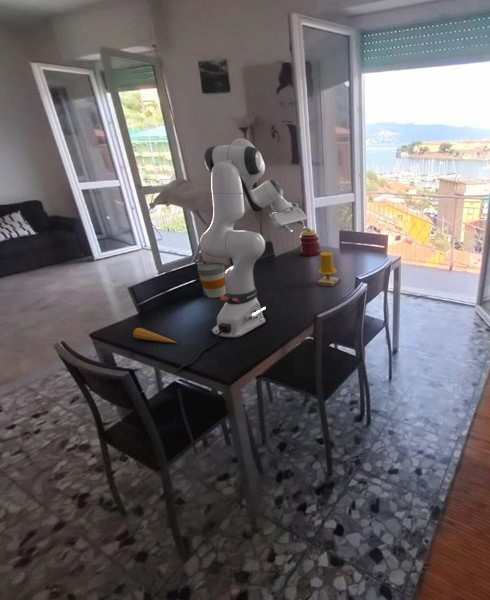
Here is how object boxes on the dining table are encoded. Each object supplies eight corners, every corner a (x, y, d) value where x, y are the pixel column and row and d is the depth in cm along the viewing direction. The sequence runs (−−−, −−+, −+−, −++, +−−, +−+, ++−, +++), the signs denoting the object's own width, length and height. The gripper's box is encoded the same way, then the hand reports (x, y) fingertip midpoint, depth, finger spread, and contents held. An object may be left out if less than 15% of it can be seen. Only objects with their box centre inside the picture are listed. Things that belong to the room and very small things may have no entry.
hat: (332, 275, 184) (331, 257, 179) (315, 273, 187) (313, 255, 183) (339, 269, 192) (339, 251, 188) (323, 267, 195) (321, 250, 191)
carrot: (134, 340, 141) (128, 333, 138) (142, 331, 144) (136, 324, 140) (177, 351, 137) (172, 344, 133) (184, 342, 140) (179, 335, 136)
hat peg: (332, 286, 187) (330, 258, 180) (317, 284, 190) (314, 256, 183) (339, 280, 195) (337, 253, 188) (324, 278, 197) (322, 251, 191)
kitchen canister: (298, 256, 236) (295, 229, 229) (304, 250, 248) (302, 225, 240) (317, 256, 234) (315, 230, 227) (322, 251, 246) (320, 225, 238)
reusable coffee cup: (220, 287, 188) (214, 260, 182) (234, 292, 181) (229, 264, 175) (198, 295, 179) (191, 267, 173) (212, 301, 172) (206, 272, 166)
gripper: (269, 209, 177) (285, 231, 175) (299, 203, 192) (314, 223, 191) (265, 217, 181) (280, 238, 180) (294, 210, 196) (308, 230, 195)
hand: (298, 230), depth 185 cm, fingers open, 8 cm apart
